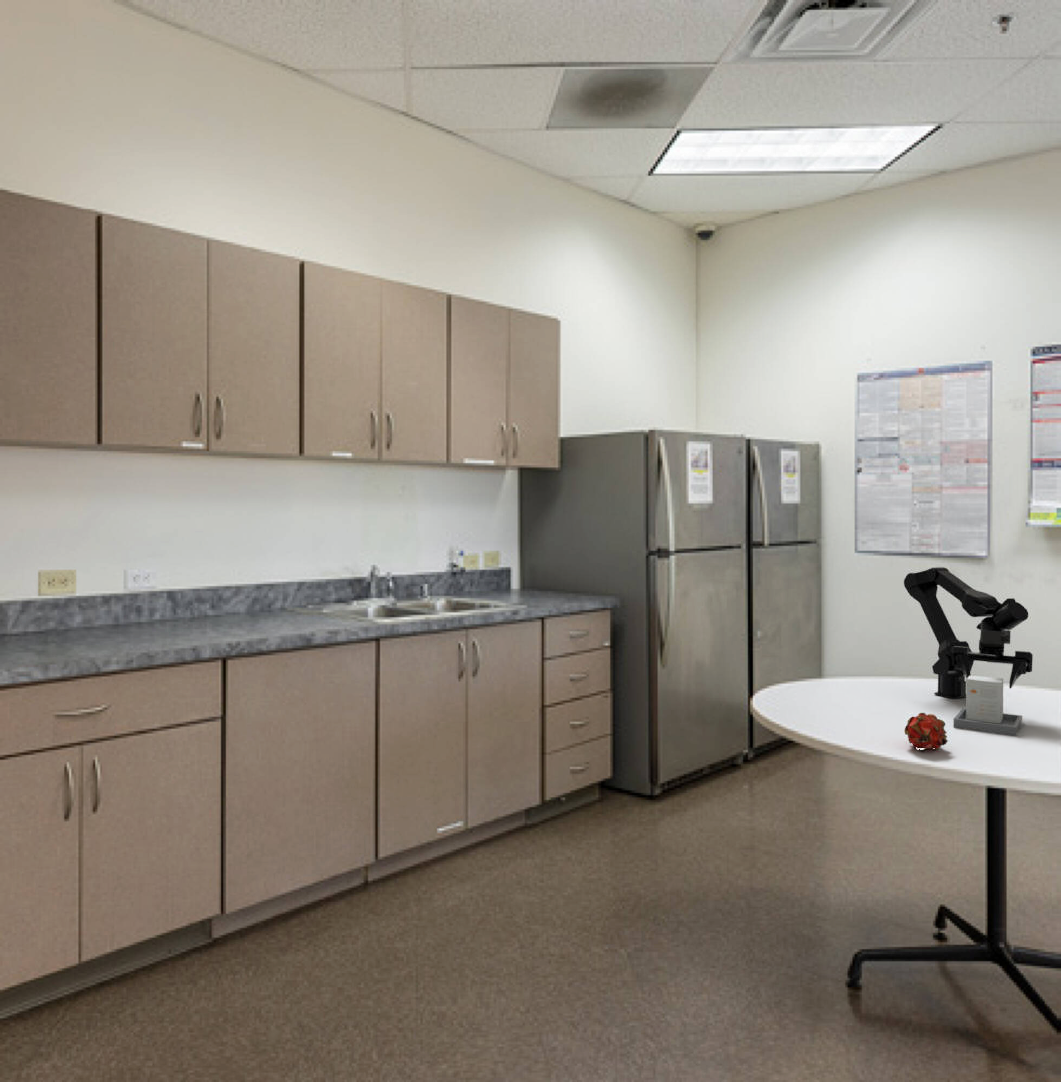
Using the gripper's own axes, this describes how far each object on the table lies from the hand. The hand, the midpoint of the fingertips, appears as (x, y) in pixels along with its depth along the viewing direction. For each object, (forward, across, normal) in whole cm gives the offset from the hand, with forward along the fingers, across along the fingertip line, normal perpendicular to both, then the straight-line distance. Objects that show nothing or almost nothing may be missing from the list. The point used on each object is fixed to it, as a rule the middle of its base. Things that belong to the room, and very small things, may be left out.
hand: (989, 685), depth 220 cm
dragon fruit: (+33, -11, -21) cm, 41 cm away
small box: (+9, -1, +2) cm, 10 cm away
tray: (+12, 0, 0) cm, 12 cm away
